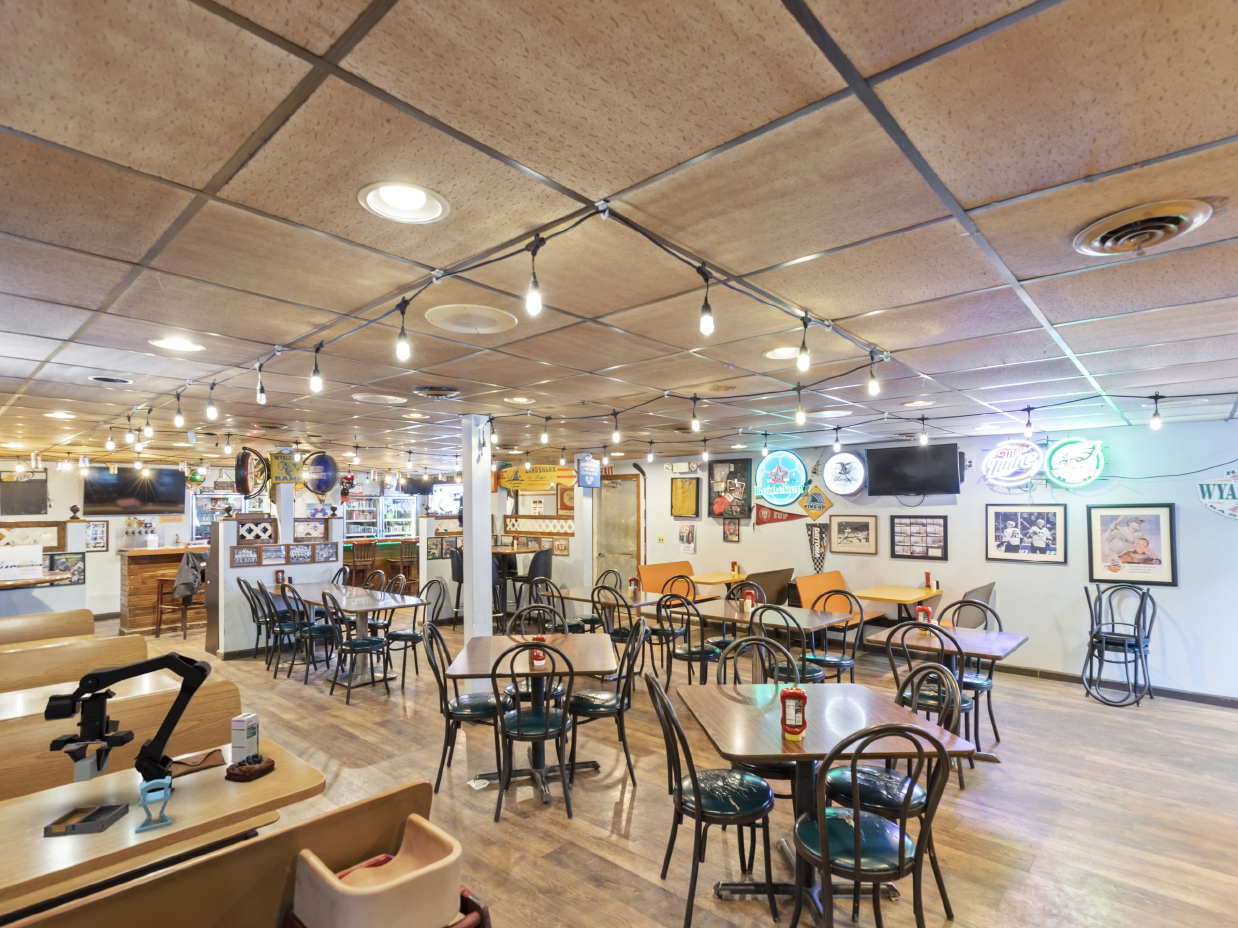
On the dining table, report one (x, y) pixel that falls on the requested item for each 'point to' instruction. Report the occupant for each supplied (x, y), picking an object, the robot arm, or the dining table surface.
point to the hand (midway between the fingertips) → (91, 771)
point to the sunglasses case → (197, 763)
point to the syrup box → (245, 736)
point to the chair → (153, 798)
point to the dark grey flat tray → (86, 819)
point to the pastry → (249, 768)
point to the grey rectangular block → (88, 768)
